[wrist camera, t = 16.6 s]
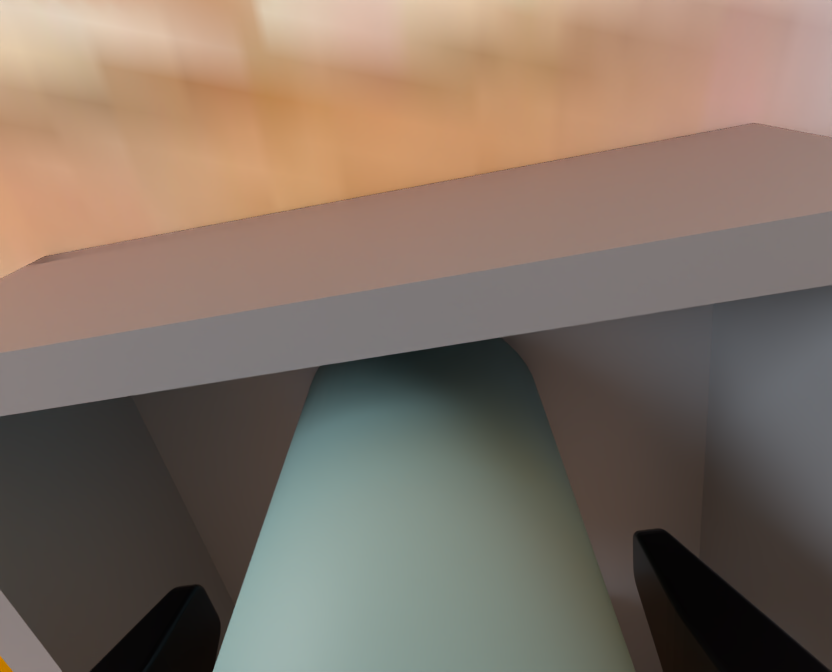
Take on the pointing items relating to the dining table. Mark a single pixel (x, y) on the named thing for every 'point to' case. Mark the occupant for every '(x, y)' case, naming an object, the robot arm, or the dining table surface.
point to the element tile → (4, 666)
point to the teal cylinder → (424, 530)
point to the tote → (423, 329)
